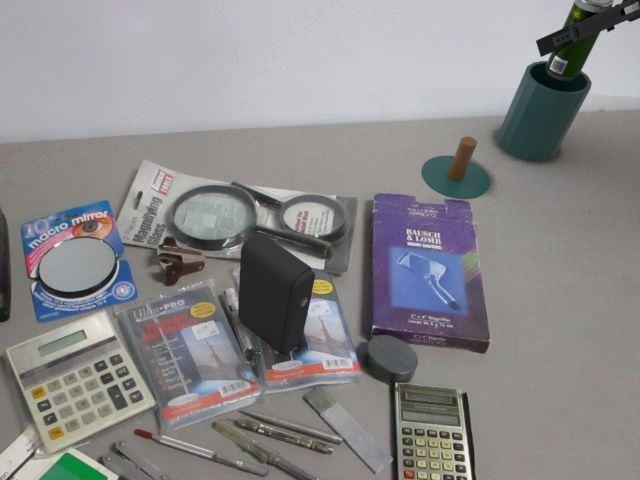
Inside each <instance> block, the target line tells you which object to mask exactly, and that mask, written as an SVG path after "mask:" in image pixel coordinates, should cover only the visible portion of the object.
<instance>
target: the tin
mask: <svg viewBox="0 0 640 480" xmlns="http://www.w3.org/2000/svg"><path fill="white" fill-rule="evenodd" d="M547 62H548V60H539V61H534V62H532V63H530V64H528V65H527V66H526V67H525V70H524V72H523V75H522V77H521V79H520V82H519V84H518V87H517V88H516V91H515V93H514V96H513V98H512V100H511V103H510V105H509V107H508V109H507V112H506V114H505V116H504V119H503V121H502V123H501V126H500V128H499V130H498V133H497V136H496V141H497V144H498V146H499V147H500V148H501V149H502V150H503V151H504V152H505V153H506V154H508V155H510V156H512V157H514V158H517V159H520V160H523V161H527V162H539V163H540V162H544V161H549V160H551V159H552V158H553V157H554V156H556V154H557V152H558V150H559V148H560V147H561V145H562V143H563V141H564V139H565V137H566V135H567V133H568V132H569V130H570V128H571V126H572V124H573V122H574V121H575V119H576V116H578V113H579V111H580V109H581V107H582V106H583V103H584V101H585V100H586V98H587V97H588V94H589V93H590V91H591V89H592V80H591V78H590V77H589V76H588V74H586V73H585V72H584V71H582V70H581V72H580V74H579V75H578V76H577V77H576V78H575V79H573V80H570V81H564V80H558V79H555V78H553V77H551V76H550V75H548V74H547V72H546V64H547Z"/></svg>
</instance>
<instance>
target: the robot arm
mask: <svg viewBox="0 0 640 480" xmlns="http://www.w3.org/2000/svg"><path fill="white" fill-rule="evenodd" d="M639 19H640V0H622V1H621V2H620V3H617V4H614V6H612V8H610V9H607V10H605V11H603V12H601V13H599V14H596V15H594V16H592V17H590V18H587V19H585V20H583V21H581V22H577V19H576V18H575V19H573V20H571V24H572V25H569V26H567V27H565V28H563V27H562V28H563V29H562V28H561V29H558V30H557V31H554V32H552V33H549V34H547V35H545V36H544V37H541V38H538V39H536V40H535V43H536V46H537V50H538V53H539V57H540V58H542V57H544V56H547V55H549V54H551V53H552V52H554V51H557V50H559V49H561V48H564V47H566V46H568V45H571V44H573V43H576V42H579V41H581V40H583V39H584V38H586V37H589V36H591V35H593V34H596V33H598V32H600V31H601V32H603V31H605V30H606V32H607V33H609V32H611V31H614V30H615V29H616V28H615V26H617V25H619V24H622V23H624V22H629V23H632V22H634V21H637V20H639ZM601 32H600V33H601Z"/></svg>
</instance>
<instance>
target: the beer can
mask: <svg viewBox="0 0 640 480" xmlns="http://www.w3.org/2000/svg"><path fill="white" fill-rule="evenodd" d="M614 3H615V0H574V1H573V4H572V6H571V8H570V10H569V13H568V15H567V16H566V19H565V21H564V24H563V26H562V27H561V29H563V28H565V27H567V26H569V25H572V24H571V20H573V19H575V18H576V19H577V22H581V21H583V20H585V19H587V18H590V17H592V16H594V15H596V14H599V13H601V12H603V11H605V10H607V9H610V8H612V7H613V5H614ZM601 32H602V31H600V32H598V33H596V34H593V35H591V36H589V37H586V38H584V39H583V40H581V41H579V42H576V43H573V44H571V45H568V46H566V47H564V48H561V49H559V50H557V51H554V52H552V53H550V55H549V57H548V60H547V61H548V62H547V64H546V72H547V74H548V75H550V76H551V77H553V78H555V79H558V80H564V81H570V80H573V79H575V78H576V77H577V76H578V75H579V74H580V72H581V71H582V70H583V68H584V66H585V65H586V63H587V60H588V58H589V56H590V55H591V52H592V51H593V49H594V46H595V44H596V43H597V40H598V38H599V36H600V34H601Z"/></svg>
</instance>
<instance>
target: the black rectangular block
mask: <svg viewBox="0 0 640 480" xmlns="http://www.w3.org/2000/svg"><path fill="white" fill-rule="evenodd" d="M315 279H316V273H315V271H313V268H312V266H310V265H309V264H308V263H306V262H304V261H303V260H302V259H300V258H299V257H297V256H296V255H295V254H293V253H292V252H290V251H289V250H287V249H286V248H284V247H283V246H282V245H280V244H279V243H278V242H276V241H274V240H273V239H272V238H270V237H269V236H267V235H266V234H261V233H254V234H252V235H251V236H250V237H249V238H247V239H246V240H244V242H243V243H242V245H241V248H240V261H239V281H238V284H239V285H238V306H237V308H238V309H237V311H238V312H237V317H238V320H240V323H241V324H242V325H244V326H245V327H246V328H247V329H249V330H250V331H251V332H252V333H253V334H254V335H256V336H257V337H258V338H260V339H261V340H262V341H263V342H265V344H267V345H268V346H269V347H271V348H272V349H273V350H275V351H276V352H277V353H278V354H280V353H281V354H282V355H284V356H287V355H288V354H290V353H291V352H292V351H293V350H294V349H295V348H297V346H299V345H300V344H301V342H302V339H303V335H304V332H305V327H306V323H307V319H308V313H309V310H310V304H311V298H312V294H313V290H314V289H313V288H314V284H315Z"/></svg>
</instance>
